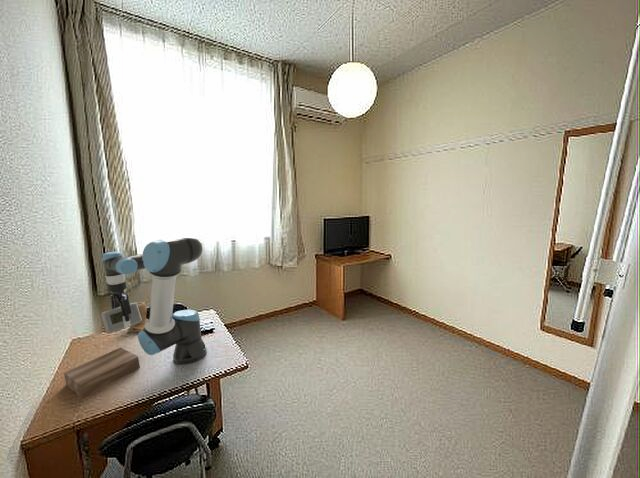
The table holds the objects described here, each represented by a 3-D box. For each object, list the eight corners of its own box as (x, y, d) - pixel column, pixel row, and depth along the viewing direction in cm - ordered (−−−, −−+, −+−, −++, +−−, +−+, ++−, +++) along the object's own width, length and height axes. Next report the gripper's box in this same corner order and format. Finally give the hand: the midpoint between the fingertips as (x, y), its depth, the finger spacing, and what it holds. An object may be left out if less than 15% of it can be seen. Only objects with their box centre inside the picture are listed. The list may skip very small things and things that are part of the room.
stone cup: (136, 322, 179) (133, 299, 176) (156, 321, 179) (153, 299, 176) (121, 334, 164) (117, 310, 161) (142, 333, 164) (139, 309, 162)
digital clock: (105, 335, 135) (101, 315, 133) (102, 329, 141) (99, 310, 139) (144, 324, 146) (141, 304, 144) (139, 319, 152) (137, 300, 151)
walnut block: (139, 368, 131) (138, 356, 130) (82, 398, 112) (80, 384, 111) (122, 358, 139) (120, 347, 138) (66, 385, 120) (63, 372, 119)
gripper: (135, 282, 138) (141, 326, 142) (115, 278, 148) (121, 318, 152) (118, 287, 132) (125, 332, 136) (98, 282, 142) (106, 324, 146)
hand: (123, 325), depth 144 cm, fingers closed on digital clock, 7 cm apart
